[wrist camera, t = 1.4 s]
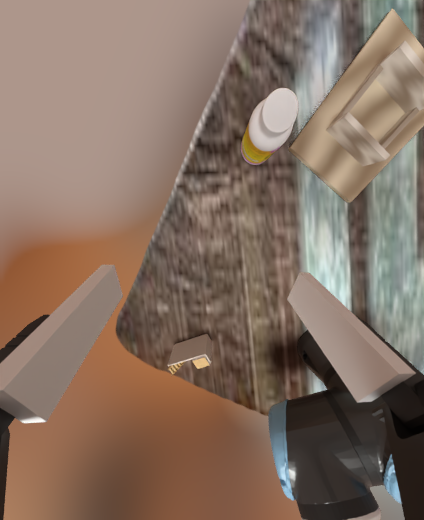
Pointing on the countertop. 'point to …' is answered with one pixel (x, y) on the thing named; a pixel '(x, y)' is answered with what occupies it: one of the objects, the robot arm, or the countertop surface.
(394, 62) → the bottle dock
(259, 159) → the supplement bottle
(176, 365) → the model
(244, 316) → the countertop surface
